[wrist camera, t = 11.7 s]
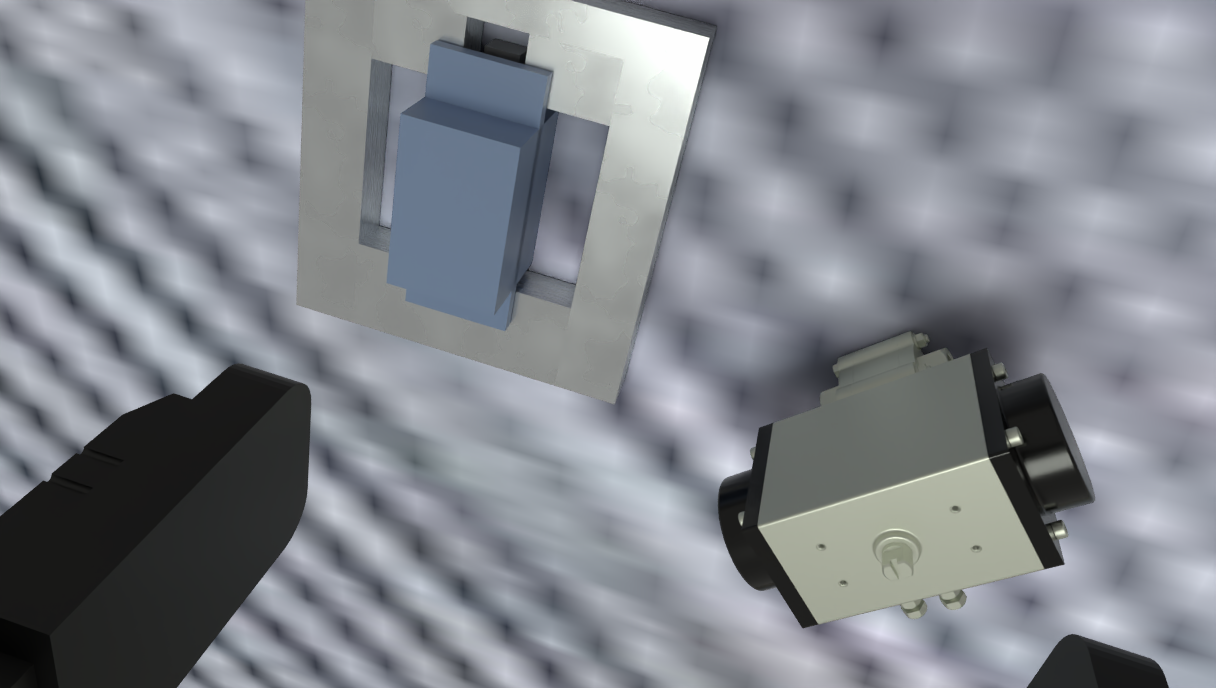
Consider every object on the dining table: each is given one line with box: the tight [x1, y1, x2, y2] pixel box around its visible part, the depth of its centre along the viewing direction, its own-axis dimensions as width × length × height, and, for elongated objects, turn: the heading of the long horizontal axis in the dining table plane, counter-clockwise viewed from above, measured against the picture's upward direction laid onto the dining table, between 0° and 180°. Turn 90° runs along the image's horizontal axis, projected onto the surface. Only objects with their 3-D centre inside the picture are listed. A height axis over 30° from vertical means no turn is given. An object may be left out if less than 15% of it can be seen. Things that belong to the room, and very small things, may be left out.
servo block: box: [386, 39, 559, 331], centre depth 37 cm, size 11×4×5 cm, turn 168°
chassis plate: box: [296, 0, 717, 404], centre depth 38 cm, size 16×15×2 cm
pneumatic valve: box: [718, 331, 1095, 628], centre depth 35 cm, size 6×12×12 cm, turn 121°
